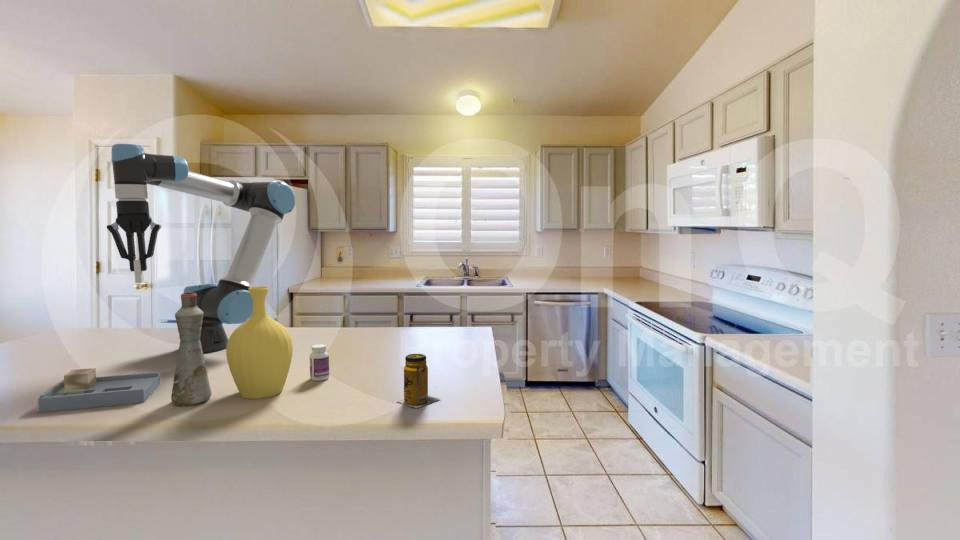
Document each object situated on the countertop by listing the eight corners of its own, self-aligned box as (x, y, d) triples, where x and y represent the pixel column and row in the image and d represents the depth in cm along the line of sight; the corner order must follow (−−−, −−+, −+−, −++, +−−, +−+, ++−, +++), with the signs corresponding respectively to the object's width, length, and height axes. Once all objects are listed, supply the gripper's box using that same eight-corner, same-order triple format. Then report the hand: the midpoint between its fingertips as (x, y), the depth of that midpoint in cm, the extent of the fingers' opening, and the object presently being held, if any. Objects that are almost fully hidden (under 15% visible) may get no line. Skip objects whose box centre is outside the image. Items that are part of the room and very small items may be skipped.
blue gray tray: (159, 383, 137) (159, 370, 136) (144, 402, 123) (143, 387, 122) (66, 392, 129) (65, 378, 129) (39, 412, 115) (37, 397, 115)
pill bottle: (333, 376, 145) (332, 344, 144) (321, 382, 140) (321, 348, 139) (317, 374, 147) (317, 342, 146) (306, 380, 142) (305, 347, 141)
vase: (279, 378, 143) (276, 282, 140) (304, 392, 131) (301, 288, 129) (219, 391, 131) (215, 287, 129) (240, 407, 120) (236, 294, 117)
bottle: (183, 410, 118) (178, 294, 115) (164, 403, 123) (158, 291, 120) (219, 399, 125) (214, 290, 122) (199, 393, 130) (194, 288, 127)
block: (96, 382, 130) (95, 368, 129) (88, 388, 125) (87, 373, 125) (73, 384, 128) (72, 369, 128) (64, 391, 123) (63, 375, 123)
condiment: (396, 402, 125) (396, 355, 124) (421, 393, 131) (421, 349, 130) (416, 409, 120) (416, 361, 119) (440, 400, 127) (440, 354, 126)
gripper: (161, 200, 145) (168, 279, 148) (108, 200, 141) (116, 282, 143) (156, 199, 139) (163, 282, 142) (100, 199, 134) (108, 285, 137)
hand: (139, 282), depth 142 cm, fingers closed
